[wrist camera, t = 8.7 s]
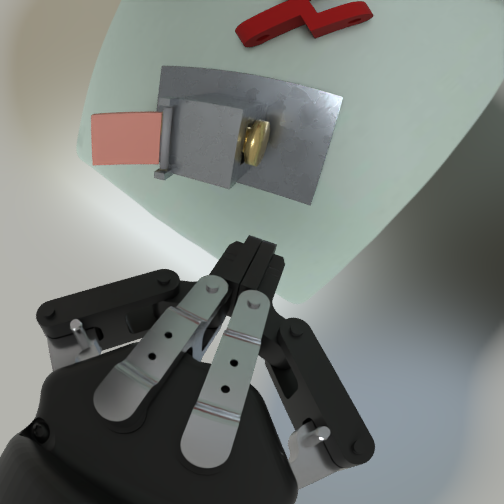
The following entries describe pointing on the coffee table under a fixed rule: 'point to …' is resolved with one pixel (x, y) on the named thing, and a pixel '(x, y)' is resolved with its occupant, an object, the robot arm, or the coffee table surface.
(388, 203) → the coffee table surface
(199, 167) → the latch base plate
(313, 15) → the mechanical linkage
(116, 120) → the latch flap
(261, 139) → the brass pin
